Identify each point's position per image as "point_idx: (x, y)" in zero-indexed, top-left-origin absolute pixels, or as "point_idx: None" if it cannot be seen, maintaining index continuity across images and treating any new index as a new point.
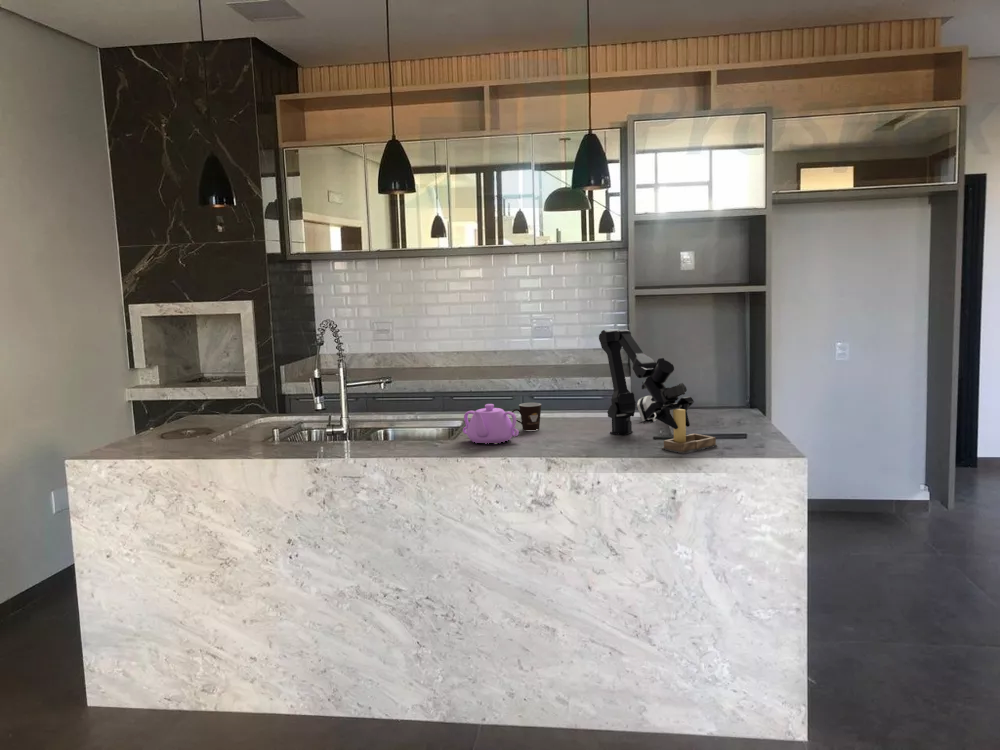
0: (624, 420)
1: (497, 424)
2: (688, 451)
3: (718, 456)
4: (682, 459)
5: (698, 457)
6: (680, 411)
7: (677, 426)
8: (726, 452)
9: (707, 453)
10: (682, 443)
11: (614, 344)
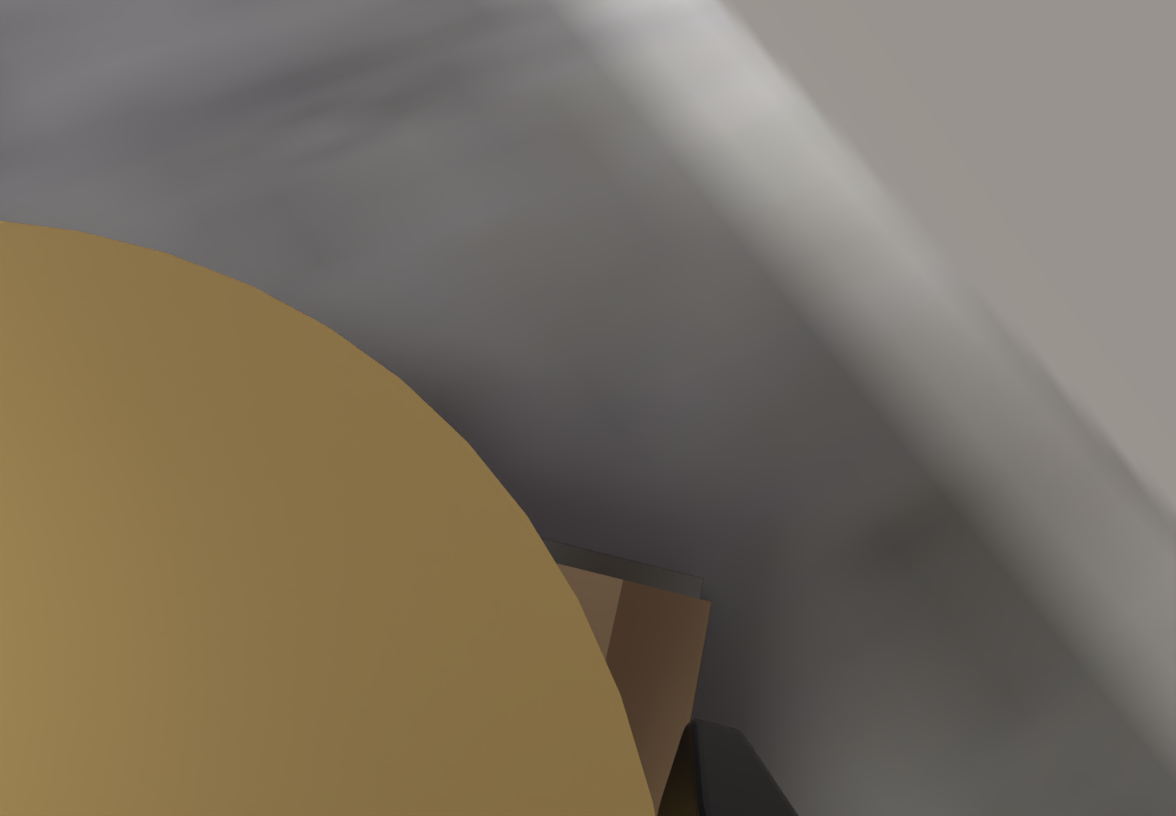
0: None
1: None
2: (558, 545)
3: (520, 55)
4: (1051, 411)
5: (763, 261)
6: (488, 473)
7: (702, 739)
8: (195, 50)
9: (417, 255)
10: (614, 633)
11: None
